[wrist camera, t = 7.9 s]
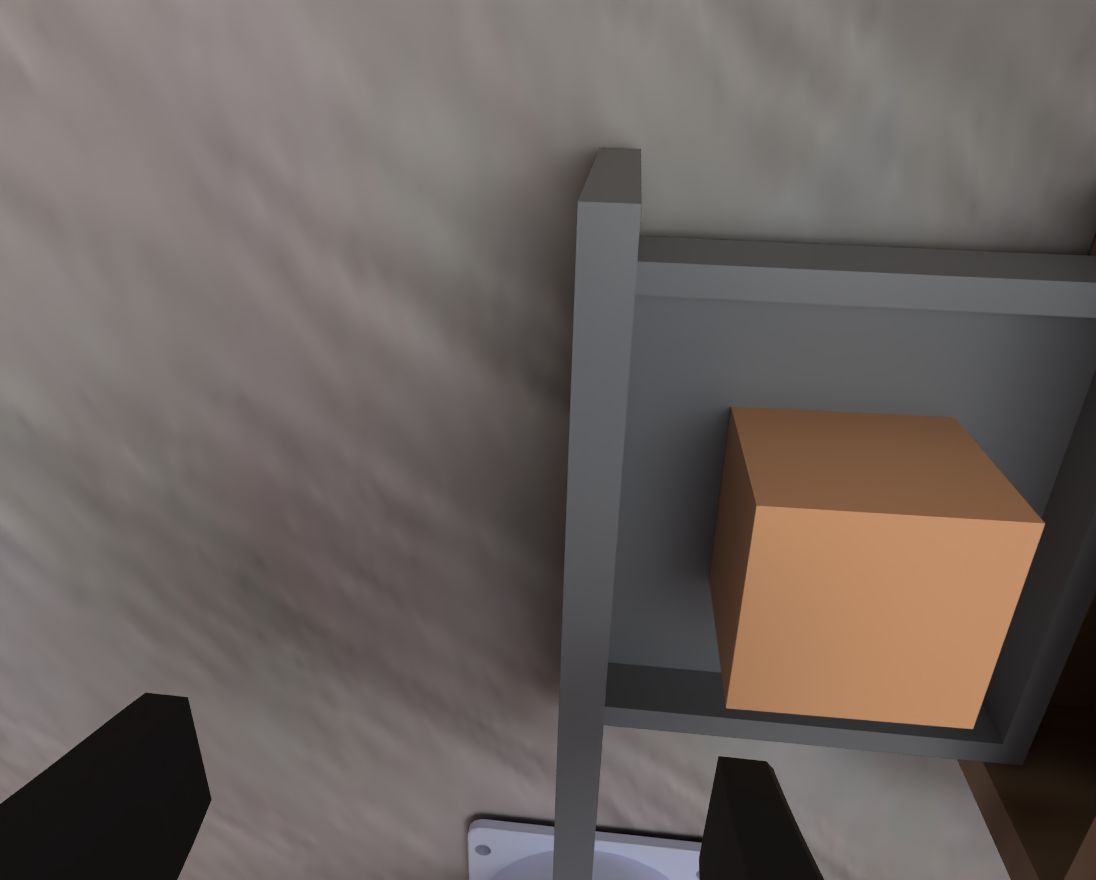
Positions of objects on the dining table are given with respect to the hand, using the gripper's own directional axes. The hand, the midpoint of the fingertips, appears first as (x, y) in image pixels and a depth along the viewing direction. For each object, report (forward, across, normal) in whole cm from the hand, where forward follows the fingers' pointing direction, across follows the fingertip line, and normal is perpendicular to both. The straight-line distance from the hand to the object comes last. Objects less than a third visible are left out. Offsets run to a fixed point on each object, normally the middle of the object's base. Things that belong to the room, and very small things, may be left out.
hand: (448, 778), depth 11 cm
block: (+8, -7, 0) cm, 10 cm away
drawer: (+9, -7, 0) cm, 11 cm away
